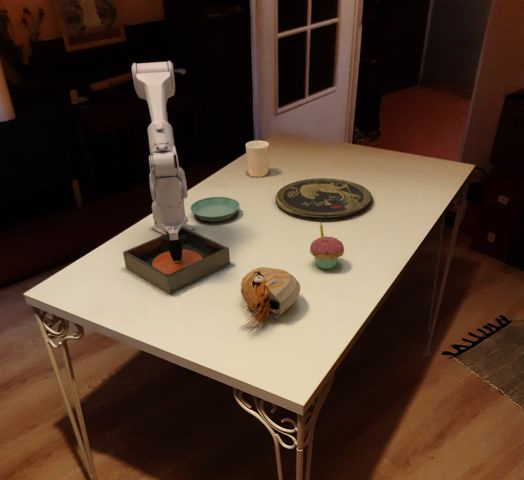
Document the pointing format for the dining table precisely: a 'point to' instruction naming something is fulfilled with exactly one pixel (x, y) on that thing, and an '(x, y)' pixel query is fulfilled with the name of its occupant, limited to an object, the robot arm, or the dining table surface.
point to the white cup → (257, 158)
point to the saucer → (215, 208)
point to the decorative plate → (324, 199)
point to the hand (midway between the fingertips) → (176, 253)
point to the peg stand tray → (212, 261)
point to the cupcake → (326, 250)
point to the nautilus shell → (269, 292)
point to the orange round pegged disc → (170, 266)
